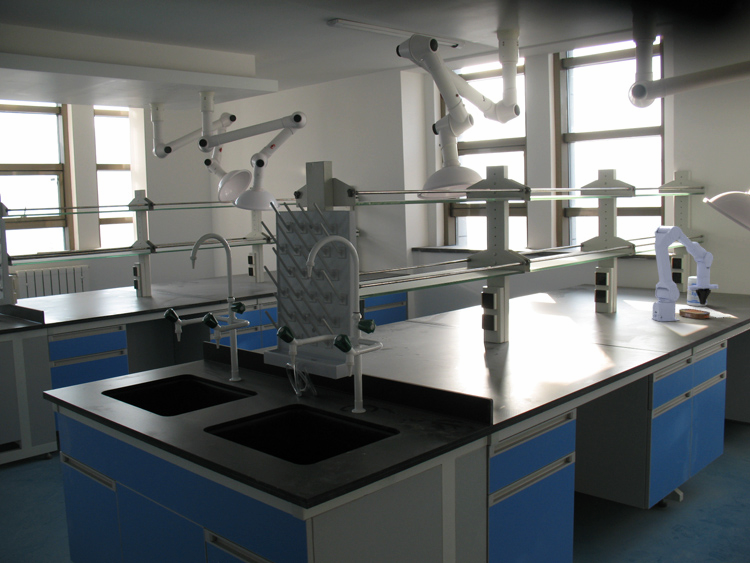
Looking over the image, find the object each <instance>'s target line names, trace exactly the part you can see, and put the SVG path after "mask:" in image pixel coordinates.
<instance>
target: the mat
mask: <svg viewBox="0 0 750 563" xmlns="http://www.w3.org/2000/svg"><path fill="white" fill-rule="evenodd" d="M708 312H710V317H712V318H715V317H716V318H715V319H720V318H723V317H724V318H731V316H729V315H726V314H722V313H719V312H716V311H709V310H708Z"/></svg>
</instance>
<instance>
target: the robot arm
mask: <svg viewBox="0 0 750 563" xmlns="http://www.w3.org/2000/svg"><path fill="white" fill-rule="evenodd" d="M654 238H655V241H654V251H655V260H656V266H657V273H658V274H657V275H658V282H657V283H656V284H655V291H654V295H655V298H656V299H657V301H655V302H654V303H653V304H652V317H651V320H654V321H657V322H661V323H663V322H675V321H677V322H678V321H680V319H679V318H676V302H677V301H678V300H679V298H680V290H679V288H678V285H677V283H675V281H673V277H672V276H673V275H672V267H671V262H670V261H671V260H670V252H669V247H670V246H671V245H672V244H674V243H675V242H676V241H677V242H678V243H680V244H681V245H682V246H684V247H685V250H686V252H687V253H688V254H689V255H690V256H692V257H693V260H694V262H695V263H696V276H697V285H692V286H688V285H687V289H688V290H695V291H696V293H697V295H698V297H699V301H700V304H702V305H705V303H706V300H707V301H708V297H709V295H710V294H711V292H712V290H714V289H715V290H719V284H711V282H710V281H711V267H712V264H713V262H714V258H715V257H714V256H713V254H712V253H711V251H707V250H706V249H705V248H704V247H702V246H701V245H700V243H699V242H698V241H691V239H689V238H688V236H687V235H686V234H685V233H684V232H683V229H681V228H680V226H677V225H673V226H672V225H671V226H670V225H659V226H658V227H657V228H656V229H655V231H654ZM705 306H706V305H705Z"/></svg>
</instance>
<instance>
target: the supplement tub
mask: <svg viewBox="0 0 750 563" xmlns="http://www.w3.org/2000/svg"><path fill="white" fill-rule="evenodd" d="M692 285H697V275H695V276H694V275H693V276H688V277H687V287H688V286H692ZM686 290H687V293H686V294H687V295H686V304H687V305H688V306H693V307H705V306H707V305H708V299H707V300H706V303H705V305H702V304H700V301H699V297H698V295H697V293H696V291H695V290H688V288H687V289H686Z"/></svg>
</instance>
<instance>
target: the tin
mask: <svg viewBox="0 0 750 563" xmlns="http://www.w3.org/2000/svg"><path fill="white" fill-rule="evenodd" d="M678 314H679V316H681V317H685V318H689V319H695V320H696V319H697V320H704V319H710V317H711V316H710V312H709V311H705V310H701V309H696V308H695V309H694V308H680V309H679V311H678Z"/></svg>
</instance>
